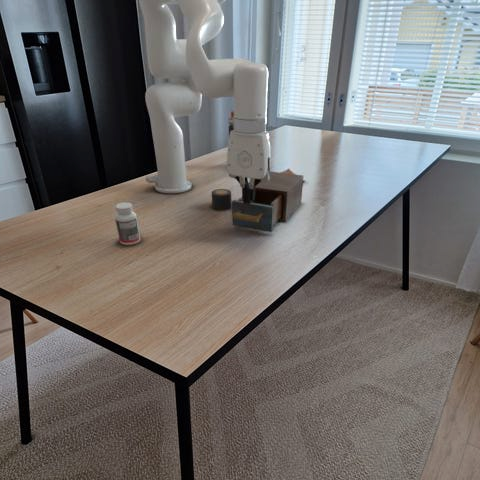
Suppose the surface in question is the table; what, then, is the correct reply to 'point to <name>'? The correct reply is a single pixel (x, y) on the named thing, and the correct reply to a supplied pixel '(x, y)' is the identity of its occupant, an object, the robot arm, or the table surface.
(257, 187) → the cabinet
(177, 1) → the robot arm
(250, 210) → the drawer
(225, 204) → the tape roll
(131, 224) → the pill bottle
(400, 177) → the table surface
